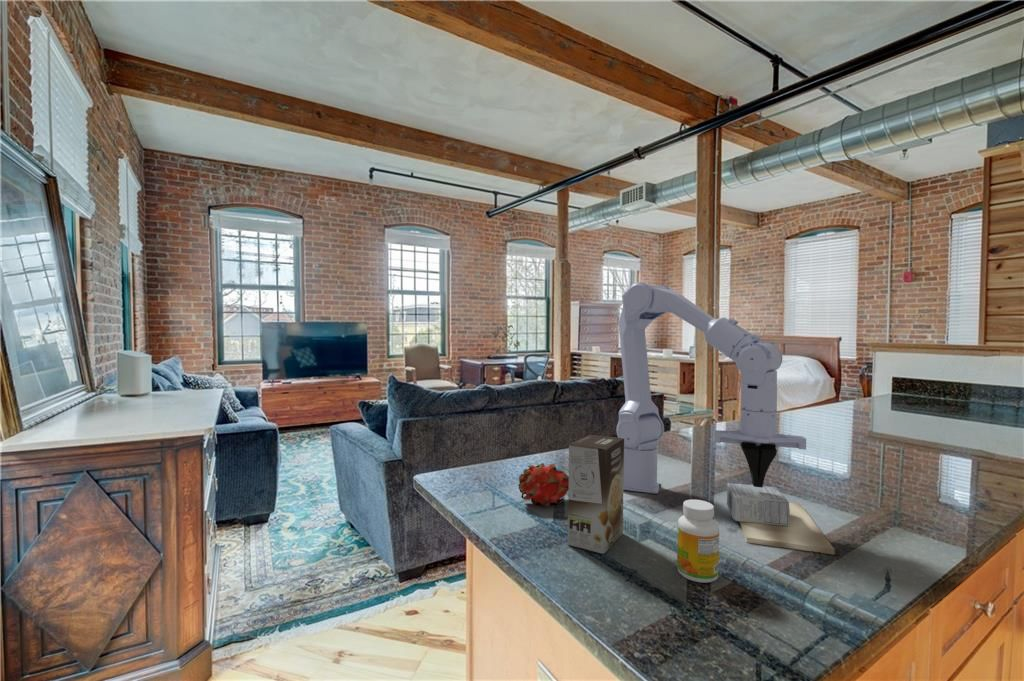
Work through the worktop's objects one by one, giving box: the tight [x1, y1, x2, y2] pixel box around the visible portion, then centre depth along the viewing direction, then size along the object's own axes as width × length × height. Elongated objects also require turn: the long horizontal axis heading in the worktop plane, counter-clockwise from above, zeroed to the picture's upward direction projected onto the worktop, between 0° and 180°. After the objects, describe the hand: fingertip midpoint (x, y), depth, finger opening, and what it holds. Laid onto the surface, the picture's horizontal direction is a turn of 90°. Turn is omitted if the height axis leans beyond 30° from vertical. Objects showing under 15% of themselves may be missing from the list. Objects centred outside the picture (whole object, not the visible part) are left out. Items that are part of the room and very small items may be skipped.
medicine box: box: [726, 482, 790, 526], centre depth 83 cm, size 8×4×9 cm
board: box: [738, 501, 836, 555], centre depth 82 cm, size 12×20×1 cm, turn 161°
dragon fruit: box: [517, 462, 569, 507], centre depth 91 cm, size 8×8×12 cm
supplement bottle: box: [676, 499, 720, 584], centre depth 64 cm, size 5×5×10 cm
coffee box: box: [567, 434, 624, 555], centre depth 75 cm, size 9×6×16 cm
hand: (757, 485), depth 82 cm, fingers closed
